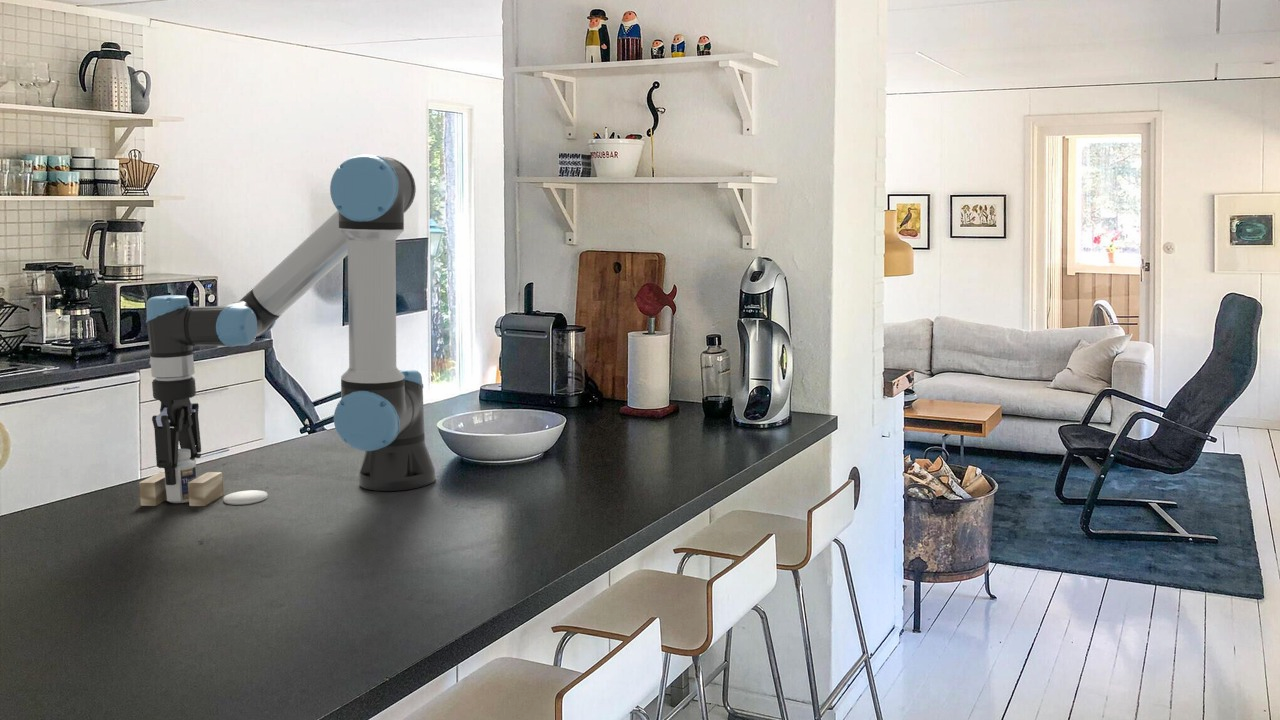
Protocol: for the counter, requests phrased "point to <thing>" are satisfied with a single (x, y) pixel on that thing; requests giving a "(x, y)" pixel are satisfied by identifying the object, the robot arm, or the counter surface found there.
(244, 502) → the pad
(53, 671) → the counter surface
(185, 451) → the pill bottle
